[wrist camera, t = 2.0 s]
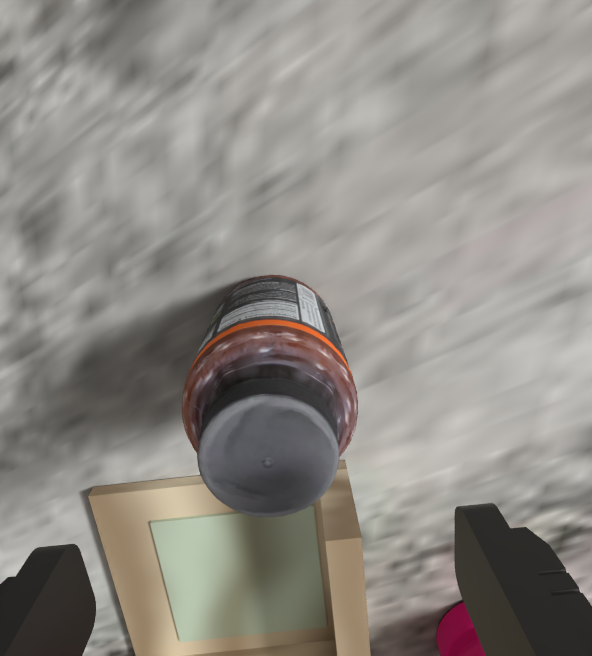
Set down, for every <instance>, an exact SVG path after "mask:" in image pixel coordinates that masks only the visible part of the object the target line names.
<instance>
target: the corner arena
mask: <svg viewBox="0 0 592 656" xmlns="http://www.w3.org/2000/svg"><path fill="white" fill-rule="evenodd" d="M88 498H89V501H90V504H91V508H92V511H93V514H94V518H95V521H96V524H97V528H98V531H99V535H100V538H101V541H102V545H103V548H104V551H105V555H106V558H107V561H108V565H109V568H110V571H111V575H112V578H113V581H114V585H115V588H116V591H117V595H118V598H119V601H120V605H121V608H122V612H123V615H124V618H125V622H126V625H127V628H128V632H129V635H130V638H131V642H132V645H133V648H134V652H135V655H136V656H371V655H370V641H369V628H368V615H367V601H366V588H365V575H364V561H363V548H362V537H361V532H360V527H359V523H358V518H357V513H356V509H355V504H354V499H353V495H352V490H351V485H350V481H349V476H348V471H347V467H346V462H345V460H340V461H339V465H338V469H337V473H336V475H335V478H334V480H333V482H332V484H331V486H330V487H329V488H328V489H327V491H326V492H325V494H324V495H323V496H322V497H320V498H319V499H318V500H317V501H316V502H315V503H313V504H312V505H311V506H309V507H308V508H306V509H304V510H301V511H298V512H297V513H293V514H290V515H286V516H282V517H258V516H250V515H247V514H244V513H241V512H238V511H235V510H233V509H231V508H229V507H228V506H226V505H225V504H223V503H222V502H221V501H220V500H218V499H217V498H216V497H215V496H214V495H213V494H212V493H211V491H210V490H209V489H208V488H207V486H206V484H205V483H204V482H203V479H202V477H201V475H200V476H191V477H181V478H172V479H163V480H153V481H144V482H135V483H125V484H116V485H107V486H97V487H93V489H92V491H91V492H90V494H89V496H88Z"/></svg>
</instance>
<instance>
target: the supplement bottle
mask: <svg viewBox="0 0 592 656" xmlns="http://www.w3.org/2000/svg"><path fill="white" fill-rule="evenodd" d="M357 414H358V400H357V391H356V387H355V384H354V381H353V376H352V373H351V371H350V369H349V366H348V363H347V359H346V357H345V354H344V351H343V348H342V345H341V342H340V340H339V337H338V334H337V331H336V328H335V324H334V322H333V319H332V316H331V314H330V312H329V309H328V308H327V307H326V305H325V303H324V302H323V300H322V299H321V297H320V296H319V295H318V294H317V293H316V292H315V291H314V290H312V289H311V288H310V287H308V286H307V285H306V284H304V283H302V282H300V281H298V280H296V279H293V278H290V277H286V276H280V275H266V276H259V277H256V278H253V279H250V280H248V281H245V282H243V283H242V284H240V285H238V286H237V287H235V288H234V289H233V290H232V291H231V292H230V293H229V294H228V295H227V296H226V297H225V298H224V300H223V301H222V302H221V304H220V305H219V307H218V309H217V311H216V313H215V314H214V317H213V319H212V321H211V324H210V326H209V328H208V330H207V332H206V334H205V337H204V339H203V341H202V344H201V346H200V348H199V351H198V353H197V355H196V358H195V360H194V362H193V365H192V367H191V369H190V372H189V374H188V376H187V379H186V382H185V387H184V392H183V399H182V418H183V423H184V427H185V431H186V434H187V436H188V438H189V440H190V442H191V444H192V446H193V448H194V450H195V451H196V453H197V458H198V467H199V471H200V474H201V477H202V479H203V482H204V483H205V484H206V486H207V488H208V489H209V490H210V491H211V493H212V494H213V495H214V496H215V497H216V498H217V499H218V500H220V501H221V502H222V503H223V504H225V505H226V506H228V507H229V508H231V509H233V510H235V511H238V512H241V513H244V514H247V515H250V516H258V517H282V516H286V515H290V514H293V513H297V512H298V511H301V510H304V509H306V508H308V507H309V506H311V505H312V504H313V503H315V502H316V501H317V500H318V499H319V498H320V497H322V496H323V495H324V494H325V492H326V491H327V489H328V488H329V487H330V486H331V484H332V482H333V480H334V478H335V475H336V473H337V469H338V465H339V457H340V456H341V455H342V453H343V452H344V451H345V449H346V448H347V446H348V445H349V443H350V441H351V438H352V436H353V433H354V431H355V427H356V421H357Z"/></svg>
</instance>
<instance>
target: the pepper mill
mask: <svg viewBox="0 0 592 656" xmlns="http://www.w3.org/2000/svg"><path fill="white" fill-rule="evenodd" d="M436 641H437V646H438V649H439V652H440V655H441V656H486V655H485V653H484V650H483V648H482V646H481V643H480V641H479V638H478V636H477V633H476V631H475V628H474V626H473V623H472V621H471V618H470V616H469V614H468V611H467V609H466V606H465V604H464V602H462V603H460V604H458V605H457V606H455V607H453V608H452V609H451V610H450V611H449V612H448V613H447V614H446V615H445V616H444V617H443V619H442V620H441V622H440V623H439V626H438V630H437V635H436Z"/></svg>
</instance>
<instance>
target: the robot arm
mask: <svg viewBox="0 0 592 656" xmlns="http://www.w3.org/2000/svg"><path fill="white" fill-rule="evenodd" d="M455 572H456V578H457V582H458V587H459V590H460V593H461V596H462V599H463V601H464V604H465V606H466V609H467V611H468V614H469V616H470V618H471V621H472V623H473V626H474V628H475V631H476V633H477V636H478V638H479V641H480V643H481V646H482V648H483V650H484V653H485V655H486V656H592V606H591V605H590V603H589V602H588V600H587V599H586V597H585V596H584V594H583V593H580V591H579V587H578V586H577V584H576V583H575V581H574V580H573V579H572V577H571V576H570V574H569V573H567V572H566V569H565V567H564V566H563V564H562V563H561V561H560V560H559V558H558V557H557V555H556V554H555V553H554V551H553V550H552V548H551V547H550V545H548V544H547V543H546V542H545V541H543V540H542V539H541V538H539V537H538V536H537V535H535V534H534V533H533V532H532V531H530V530H529V529H528V528H526V527H521V528H511V529H510V527H509V526H508V524H507V522H506V521H505V519H504V517H503V516H502V514H501V513H500V511H499V509H498V508H497V506H496V505H495V504H493V503H488V504H478V505H468V506H458V507H456V509H455ZM95 616H96V601H95V596H94V593H93V590H92V587H91V584H90V580H89V577H88V574H87V571H86V568H85V565H84V561H83V558H82V555H81V552H80V549H79V548H78V546H77V545H75V544H68V545H58V546H48V547H39V548H36V549H35V550H34V551H33V552H32V553H31V554H30V556H29V557H28V559H27V560H26V562H25V563H24V565H23V566H22V568H21V569H20V571H19V572H18V574H17V575H16V577H8V578H7V579H6V580H5V581H3V582H2V583H1V584H0V656H82V654H83V652H84V650H85V647H86V645H87V642H88V640H89V638H90V635H91V633H92V630H93V627H94V622H95Z"/></svg>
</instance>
